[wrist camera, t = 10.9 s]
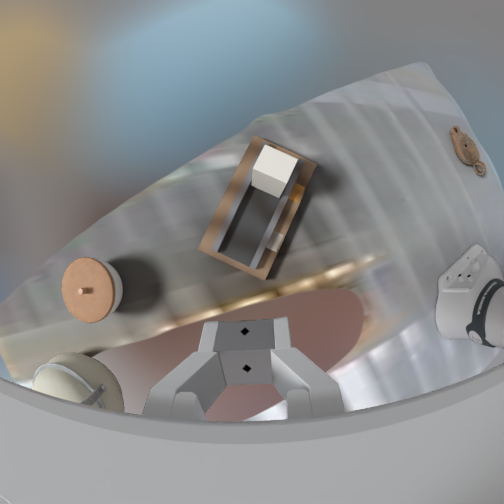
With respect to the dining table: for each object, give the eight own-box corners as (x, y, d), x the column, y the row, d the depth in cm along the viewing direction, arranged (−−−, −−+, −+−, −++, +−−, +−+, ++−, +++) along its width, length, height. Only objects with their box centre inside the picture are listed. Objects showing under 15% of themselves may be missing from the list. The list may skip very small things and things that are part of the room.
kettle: (101, 326, 47) (15, 364, 22) (156, 404, 47) (107, 484, 22) (37, 373, 46) (-33, 409, 21) (83, 437, 46) (30, 494, 21)
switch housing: (263, 280, 48) (265, 281, 44) (199, 249, 48) (196, 249, 44) (314, 167, 49) (319, 161, 45) (254, 140, 49) (254, 131, 45)
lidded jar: (86, 315, 47) (60, 323, 38) (81, 259, 47) (53, 259, 38) (134, 315, 47) (112, 325, 38) (129, 256, 48) (105, 254, 38)
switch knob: (279, 198, 46) (286, 183, 37) (251, 185, 46) (252, 168, 37) (288, 177, 46) (298, 159, 37) (261, 165, 46) (264, 144, 37)
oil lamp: (440, 133, 50) (452, 126, 45) (455, 126, 51) (466, 118, 46) (467, 183, 50) (480, 178, 45) (480, 172, 50) (493, 167, 45)
